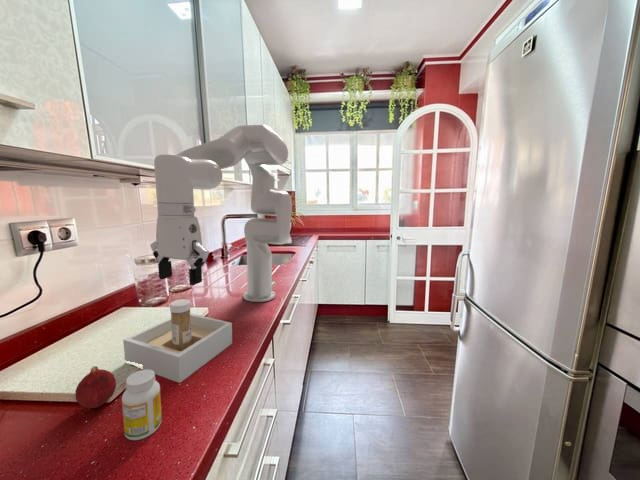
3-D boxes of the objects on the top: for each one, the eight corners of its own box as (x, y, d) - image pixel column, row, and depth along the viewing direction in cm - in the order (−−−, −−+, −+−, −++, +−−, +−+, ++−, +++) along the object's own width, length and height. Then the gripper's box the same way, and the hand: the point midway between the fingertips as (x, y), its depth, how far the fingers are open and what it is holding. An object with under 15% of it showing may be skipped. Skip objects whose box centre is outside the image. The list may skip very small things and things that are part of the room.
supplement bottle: (133, 447, 42) (129, 393, 40) (118, 431, 44) (113, 379, 43) (168, 423, 46) (165, 374, 45) (152, 410, 49) (149, 363, 48)
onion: (124, 401, 51) (121, 363, 50) (88, 423, 46) (84, 382, 44) (106, 391, 53) (103, 354, 52) (70, 411, 48) (65, 371, 47)
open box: (184, 330, 78) (183, 311, 77) (232, 343, 72) (231, 322, 71) (125, 363, 62) (123, 339, 61) (179, 383, 56) (178, 357, 55)
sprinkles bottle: (193, 354, 67) (191, 303, 65) (172, 359, 64) (170, 307, 62) (191, 345, 70) (189, 297, 68) (171, 350, 68) (169, 300, 66)
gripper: (217, 211, 62) (219, 281, 65) (163, 208, 68) (167, 272, 71) (192, 213, 55) (196, 291, 58) (134, 209, 61) (140, 280, 64)
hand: (180, 280), depth 65 cm, fingers open, 9 cm apart
